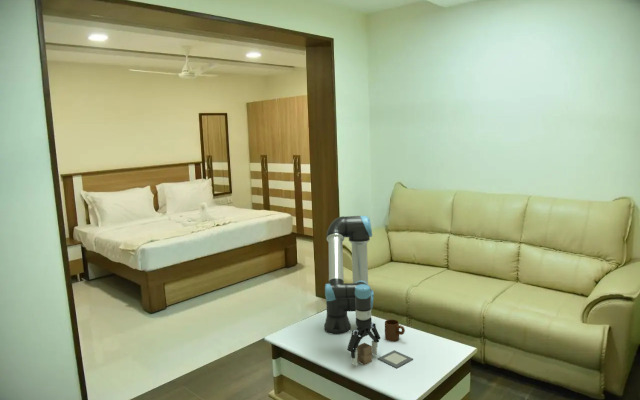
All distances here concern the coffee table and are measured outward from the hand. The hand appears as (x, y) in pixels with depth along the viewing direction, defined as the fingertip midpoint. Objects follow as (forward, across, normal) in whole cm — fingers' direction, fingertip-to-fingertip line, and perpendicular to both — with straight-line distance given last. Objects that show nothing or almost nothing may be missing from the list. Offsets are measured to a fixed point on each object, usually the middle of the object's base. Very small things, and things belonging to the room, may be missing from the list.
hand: (364, 359), depth 214 cm
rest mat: (+1, +12, -9) cm, 15 cm away
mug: (+2, +28, +5) cm, 28 cm away
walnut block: (+1, 0, 0) cm, 1 cm away
